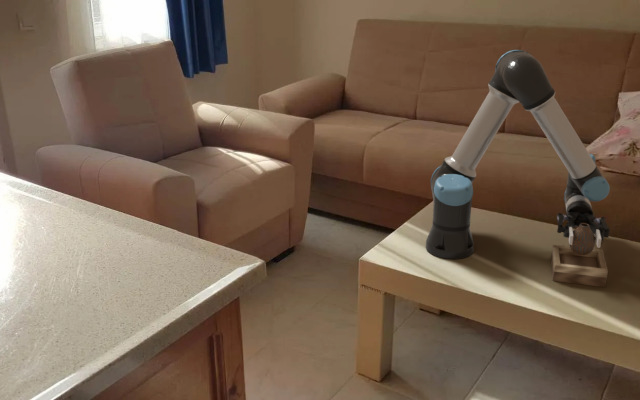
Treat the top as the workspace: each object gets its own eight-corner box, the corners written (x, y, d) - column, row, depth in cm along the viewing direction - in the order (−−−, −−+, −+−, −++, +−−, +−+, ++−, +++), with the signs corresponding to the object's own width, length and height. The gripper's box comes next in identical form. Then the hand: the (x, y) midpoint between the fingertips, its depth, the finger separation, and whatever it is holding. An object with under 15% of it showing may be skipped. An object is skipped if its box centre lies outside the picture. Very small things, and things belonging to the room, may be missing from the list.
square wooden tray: (552, 280, 180) (554, 265, 178) (551, 259, 192) (553, 244, 191) (605, 287, 176) (607, 271, 174) (600, 265, 188) (602, 250, 187)
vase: (598, 254, 180) (603, 227, 177) (580, 259, 178) (584, 231, 174) (581, 245, 186) (585, 218, 183) (562, 249, 184) (566, 222, 180)
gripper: (611, 225, 193) (621, 257, 173) (544, 219, 199) (546, 250, 179) (615, 202, 191) (625, 233, 170) (547, 197, 196) (549, 226, 176)
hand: (585, 241), depth 174 cm, fingers closed on vase, 7 cm apart
